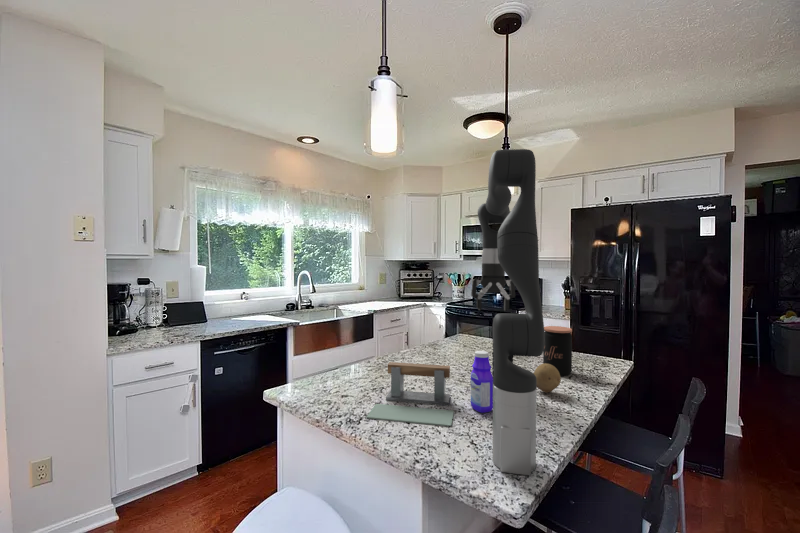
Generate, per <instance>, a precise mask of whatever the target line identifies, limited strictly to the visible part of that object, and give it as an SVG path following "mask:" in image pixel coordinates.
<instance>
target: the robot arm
mask: <svg viewBox="0 0 800 533" xmlns="http://www.w3.org/2000/svg"><path fill="white" fill-rule="evenodd" d="M536 165H537V164H536V156H535V154H534V152H533V150H531V149H526V148H519V149H507V148H506V149H498V150H495V151H494V152H493V153H492V154H491V157H490V161H489V167H488V177H487V178H488V180H487V182H488V184H487V186H488V187H487V192H488V193H487V196H486V200H485V203H484V202H483V203H481V204H480V205H479V206H478V209H477V218H478V222H479V225H480V229H481V233H482V253H481V279H480V280H479V279H472V281H471V290H470V291H471V292H470V293H471V294H470V296H471V297H472V298H475V299H476V308H477V310H478V311H482V302H483V300H482V298H483V297H484V295H485V294H486V293H495V294H496V293H500V294H501V295H502V297H503V298H504V299H503V311H505V312H507V313H501V312H500V313H497V314H496V315H495V316H494V317H493V318H494V320H493V319H492V349H493V350H492V353H493V355H494V374H493V375H492V376H493V409H492V463H493V465H495V466H496V467H497V468H498V469H499V471H500V473H506V474H507V473H508V474H516V475H524V476H531V475H532V473H533V471H535V469H536V467H537V465H536V464H537V396H538V395H537V379H536V376H535V375H534V374H533V373H534V372H532V371H531V370H528V369H527V368H523V367H520V366H519V365H517V364H516V363H514V362H513V363H512V362H511V361H510V360H509V359H508V356H509V355H510V356H513V357H515V356H516V357H540V356H543V351H544V346H545V331H544V327H545V324H544V315H543V314H544V313H543V307H542V306H543V305H542V299H541V290H540V289H541V288H540V273H539V272H540V271H539V270H540V269H539V268H540V267H539V241H538V240H539V239H538V238H539V237H538V227H537V217H536V216H537V215H536V179H537V178H536V175H537V174H536V173H537V172H536V171H537V170H536V169H537V168H536ZM516 187H518V188H520V194H519V196H518V198H517V201H516V203H515V204H514V206H513V207H512V209H510V205H511V204H510V203H511V202H512V192H511V189H510V188H516ZM490 225H500V227H499V229H498V230H495V229H492V228H491V227H490ZM506 275H507V277H508V279H507V280H506V278H505V277H506ZM479 285H481V286H482V288H481V289H480V291H479V292H478V294H477V287H479ZM506 285H507V286H508V287H509V294H508V293H507V291H506V290H505V289H504V287H505V286H506ZM516 290H517V292H518V293H519V294H520V297H521V299H522V301H523V304H524V309H525V313H508V310H509V309H510V300H512V299H513V298H514V299H515V298H516Z"/></svg>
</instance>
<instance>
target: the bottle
mask: <svg viewBox="0 0 800 533" xmlns="http://www.w3.org/2000/svg"><path fill="white" fill-rule="evenodd" d="M489 354H490V353H489V352H488V351H486V350H475V352H474V360H473V364H472V365H471V367H472V370H471V372H470V406H471V408H472V409H473V410H475V411H476V412H479V413H481V414H483V413H486V414H487V413H489V412H493V375H492V371H491V370H492V365H491V363H490V358H489Z"/></svg>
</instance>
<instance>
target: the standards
mask: <svg viewBox="0 0 800 533" xmlns="http://www.w3.org/2000/svg"><path fill="white" fill-rule="evenodd" d="M390 375H391V377H390V378H391V379H390V391H389V392H388V393H387V395H386V396H385V400H386V401H391V402H404V403H413V404H414V403H415V404H426V405H435V404H436V406H437V405H439V406H446V405H448V406H449V405H450V401H451V394H448V393H446V383H447V382H446V379H447V378H444V370H435V371H434V377H433V378H434V379H433V380H434V381H433V382H434V384H433V385H434V386H433V388H434V392H423V391H413V390H412V391H410V390H404V380H405V379H404V378H405V375H401V367H391V374H390Z"/></svg>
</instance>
